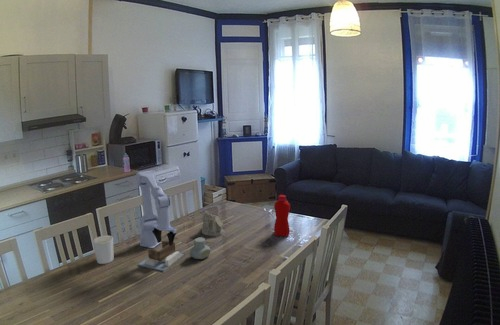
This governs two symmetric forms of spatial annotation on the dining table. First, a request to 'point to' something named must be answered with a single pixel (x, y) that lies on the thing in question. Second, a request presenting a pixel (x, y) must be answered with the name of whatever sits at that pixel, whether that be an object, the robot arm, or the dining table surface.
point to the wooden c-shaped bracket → (162, 251)
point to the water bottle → (282, 216)
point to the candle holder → (104, 249)
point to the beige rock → (212, 225)
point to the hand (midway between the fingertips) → (165, 243)
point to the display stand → (161, 262)
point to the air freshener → (199, 249)
